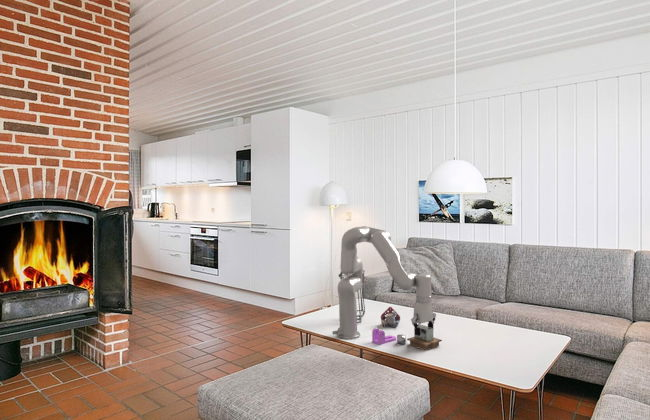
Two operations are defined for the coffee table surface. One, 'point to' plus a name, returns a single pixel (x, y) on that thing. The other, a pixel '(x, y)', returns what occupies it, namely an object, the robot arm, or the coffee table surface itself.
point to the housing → (425, 334)
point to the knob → (401, 339)
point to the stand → (424, 343)
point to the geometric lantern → (358, 298)
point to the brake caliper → (390, 318)
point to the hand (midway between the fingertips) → (424, 333)
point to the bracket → (381, 337)
